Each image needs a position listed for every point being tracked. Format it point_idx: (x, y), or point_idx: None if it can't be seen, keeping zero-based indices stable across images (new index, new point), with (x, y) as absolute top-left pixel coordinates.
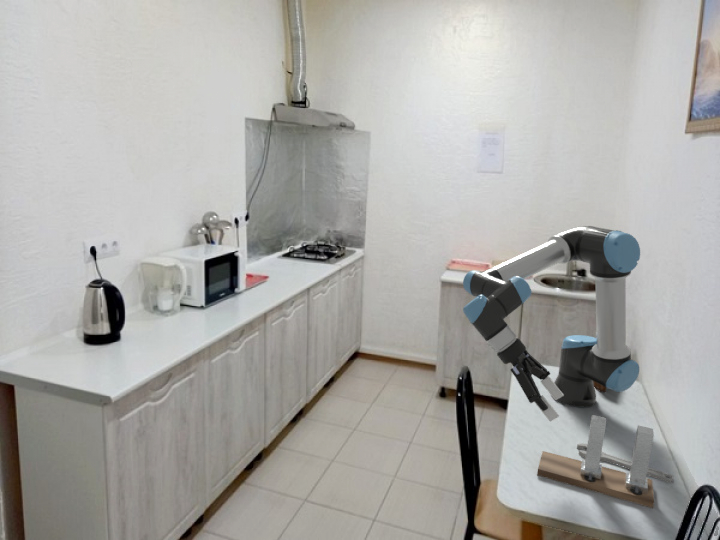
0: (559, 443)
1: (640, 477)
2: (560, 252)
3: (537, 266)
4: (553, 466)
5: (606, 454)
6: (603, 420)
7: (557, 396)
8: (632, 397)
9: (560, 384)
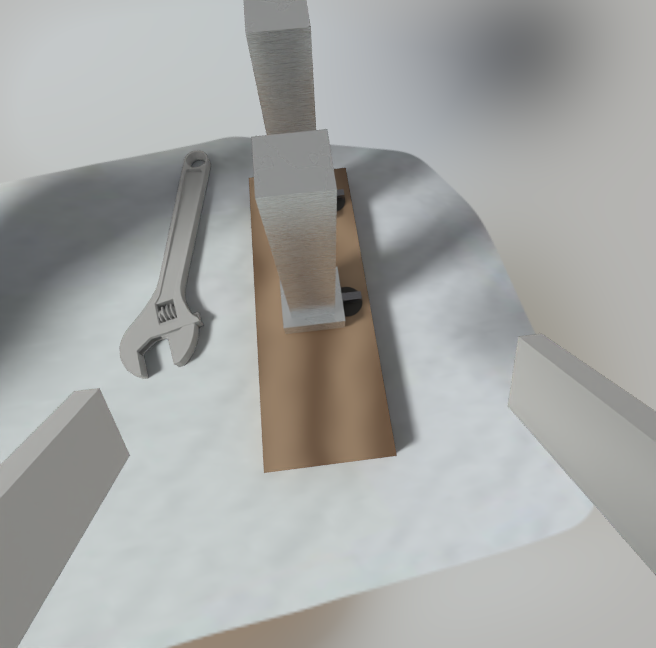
0: (139, 437)
1: None
2: None
3: None
4: (346, 411)
5: (160, 289)
6: (291, 143)
7: (105, 442)
8: None
9: None
